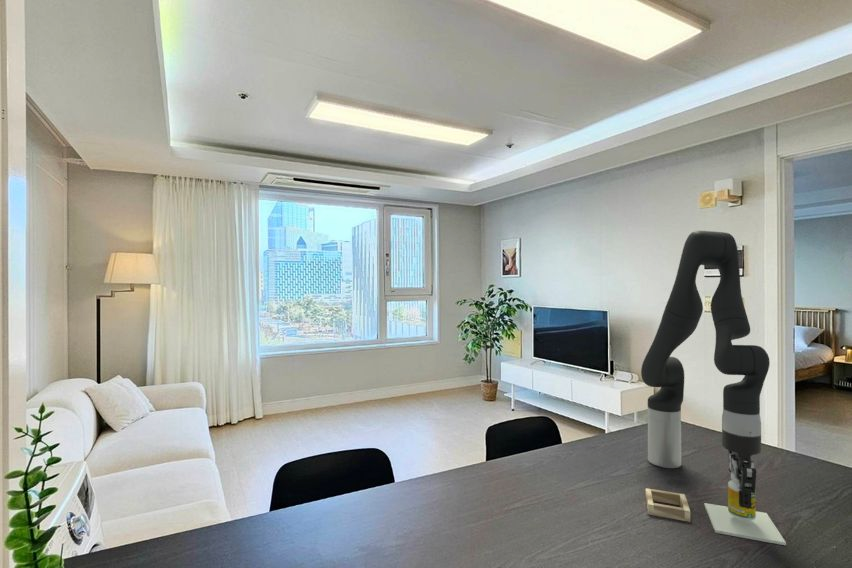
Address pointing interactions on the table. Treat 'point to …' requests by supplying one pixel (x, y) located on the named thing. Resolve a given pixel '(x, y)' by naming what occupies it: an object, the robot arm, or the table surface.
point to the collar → (667, 510)
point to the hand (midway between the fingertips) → (741, 500)
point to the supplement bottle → (733, 501)
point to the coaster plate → (743, 525)
